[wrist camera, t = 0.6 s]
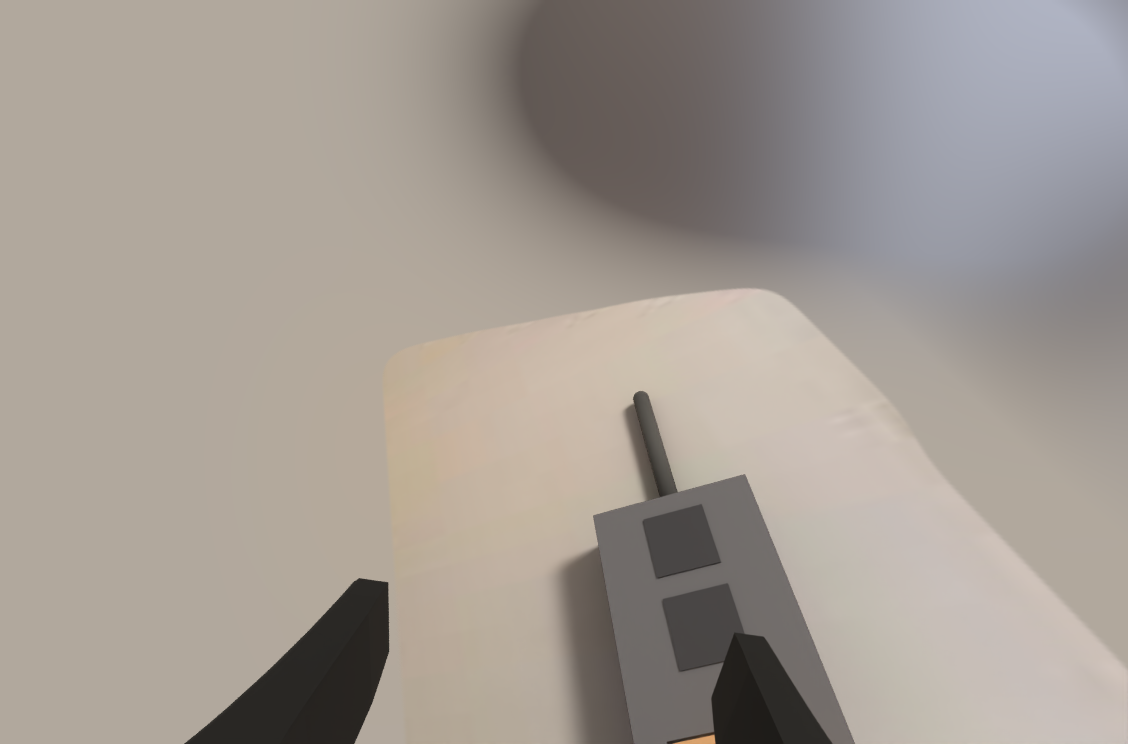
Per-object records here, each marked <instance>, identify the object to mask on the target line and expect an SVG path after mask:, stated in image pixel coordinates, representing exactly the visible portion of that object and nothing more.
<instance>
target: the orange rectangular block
mask: <svg viewBox="0 0 1128 744" xmlns="http://www.w3.org/2000/svg"><path fill="white" fill-rule="evenodd" d="M673 744H715V735H711V736H706V737H702V738H697V739H692V740H687V741H682V742H678V743H673Z"/></svg>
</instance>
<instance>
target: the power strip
mask: <svg viewBox="0 0 1128 744" xmlns="http://www.w3.org/2000/svg"><path fill="white" fill-rule="evenodd" d="M633 400H634V404H635V408H636V411H637V415H638V419H639V422H640V426H641V429H642V433H643V437H644V440H645V444H646V447H647V451H648V455H649V458H650V462H651V465H652V469H653V473H654V476H655V480H656V484H657V487H658V491H659V494H660V497H659V498H655V499H652V500H648V501H644V502H641V503H637V504H633V505H630V506H626V507H622V508H619V509H615V510H611V511H608V512H604V513H600V514H597V515H593V518H594V523H595V529H596V535H597V540H598V546H599V551H600V557H601V563H602V568H603V574H604V579H605V585H606V591H607V596H608V602H609V607H610V613H611V618H612V624H613V630H614V635H615V641H616V646H617V652H618V658H619V663H620V669H621V674H622V680H623V685H624V691H625V697H626V702H627V708H628V713H629V719H630V725H631V730H632V736H633V741H634V744H673V743H678V742H682V741H687V740H692V739H697V738H702V737H706V736H711V735H714V725H713V714H712V702H711V697H712V694H713V691H714V688H715V686H716V683H717V680H718V677H719V674H720V671H721V669H722V666H723V663H724V660H725V657H726V655H727V652H728V649H729V646H730V643H731V640H732V638H733V635H734V632H735V633H742V634H749V635H756V636H763V637H765V639H766V640H767V641H768V643H769V645H770V646H771V648H772V649H773V651H774V653H775V654H776V656H777V658H778V659H779V661H780V663H781V664H782V666H783V667H784V669H785V671H786V672H787V674H788V676H789V677H790V679H791V680H792V682H793V684H794V685H795V687H796V688H797V690H798V691H799V693H800V695H801V696H802V698H803V699H804V701H805V703H806V704H807V706H808V707H809V709H810V710H811V712H812V713H813V715H814V717H815V718H816V720H817V721H818V723H819V724H820V726H821V727H822V729H823V730H824V732H825V733H826V735H827V736H828V738H829V739H830V740H831V742H832V743H833V744H855V742H854V740H853V738H852V735H851V733H850V730H849V728H848V725H847V723H846V720H845V718H844V716H843V713H842V711H841V708H840V706H839V703H838V701H837V698H836V696H835V693H834V691H833V689H832V686H831V684H830V681H829V679H828V676H827V674H826V671H825V669H824V666H823V664H822V662H821V659H820V657H819V654H818V652H817V649H816V647H815V644H814V642H813V640H812V637H811V635H810V632H809V630H808V627H807V625H806V622H805V620H804V617H803V615H802V613H801V610H800V608H799V605H798V603H797V600H796V598H795V595H794V593H793V590H792V588H791V586H790V583H789V581H788V578H787V576H786V573H785V571H784V568H783V566H782V564H781V561H780V559H779V556H778V554H777V551H776V549H775V546H774V544H773V541H772V539H771V537H770V534H769V532H768V529H767V527H766V524H765V522H764V519H763V517H762V515H761V512H760V510H759V507H758V505H757V502H756V500H755V497H754V495H753V492H752V490H751V488H750V485H749V483H748V480H747V478H746V475H745V474H744V475H740V476H736V477H733V478H729V479H725V480H722V481H718V482H714V483H711V484H707V485H703V486H700V487H696V488H692V489H689V490H685V491H681V492H677V489H676V485H675V482H674V479H673V476H672V472H671V469H670V466H669V462H668V459H667V456H666V452H665V449H664V446H663V443H662V439H661V436H660V433H659V429H658V426H657V423H656V419H655V416H654V413H653V410H652V406H651V403H650V400H649V396H648V394H647V393H645V392H643V391H639V392H637V393H635V395H634V397H633Z"/></svg>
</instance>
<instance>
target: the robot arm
mask: <svg viewBox="0 0 1128 744" xmlns="http://www.w3.org/2000/svg"><path fill="white" fill-rule="evenodd" d="M388 605H389V603H388V582H381V581H374V580H367V579H360V578H359V579H358V580H356V581H354V582H353V583H352V585H351V586H350V587H349V588H348V589H347V590H346V591H345V593H343V595H342V596H341V597H340V598H339V599H338V600H337V601H336V602H335V604H333V605H332V607H331V608H330V609H329V610H328V611H327V612H326V613H325V614H324V615H323V616H322V617H321V618H320V619H319V620H318V622H317V623H316V624H315V625H314V626H313V627H312V628H311V629H310V630H309V631H308V632H307V633H306V634H305V635H304V636H303V637H302V638H301V639H300V640H299V641H298V642H297V643H296V644H295V645H294V646H293V647H292V648H291V649H290V650H289V651H288V652H287V653H286V654H285V655H284V656H283V657H282V658H281V659H280V660H279V661H278V662H277V663H276V664H275V665H274V666H273V667H271V668H270V669H269V670H268V671H267V672H266V673H265V674H264V675H263V676H262V677H261V678H260V679H258V680H257V682H255V683H254V684H253V685H252V686H251V687H250V688H249V689H248V690H246V691H245V692H244V693H243V694H242V695H241V696H240V697H239V698H238V699H237V700H235V701H234V702H233V703H232V704H231V705H230V706H229V707H228V708H227V709H225V710H224V711H223V712H222V713H221V714H220V715H218V716H217V717H216V718H215V719H214V720H213V721H211V722H210V723H209V724H208V725H207V726H205V727H204V728H203V729H202V730H201V731H199V732H198V733H197V734H196V735H195V736H193V737H192V738H191V739H190V740H188V741H187V742H186V743H185V744H354V743H355V741H356V739H357V736H358V734H359V732H360V729H361V727H362V725H363V723H364V720H365V718H366V716H367V714H368V711H369V709H370V707H371V704H372V702H373V699H374V696H375V693H376V689H377V687H378V684H379V681H380V678H381V675H382V671H383V669H384V666H385V663H386V659H387V656H388V653H389V608H388V607H389V606H388ZM711 702H712V714H713V725H714V735H715V744H833V743H832V742H831V740H830V739H829V738H828V736H827V735H826V733H825V732H824V730H823V729H822V727H821V726H820V724H819V723H818V721H817V720H816V718H815V717H814V715H813V713H812V712H811V710H810V709H809V707H808V706H807V704H806V703H805V701H804V699H803V698H802V696H801V695H800V693H799V691H798V690H797V688H796V687H795V685H794V684H793V682H792V680H791V679H790V677H789V676H788V674H787V672H786V671H785V669H784V667H783V666H782V664H781V663H780V661H779V659H778V658H777V656H776V654H775V653H774V651H773V649H772V648H771V646H770V645H769V643H768V641H767V640H766V639H765V637H763V636H756V635H749V634H742V633H735V632H734V635H733V638H732V640H731V643H730V646H729V649H728V652H727V655H726V657H725V660H724V663H723V666H722V669H721V671H720V674H719V677H718V680H717V683H716V686H715V688H714V691H713V694H712V697H711Z"/></svg>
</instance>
